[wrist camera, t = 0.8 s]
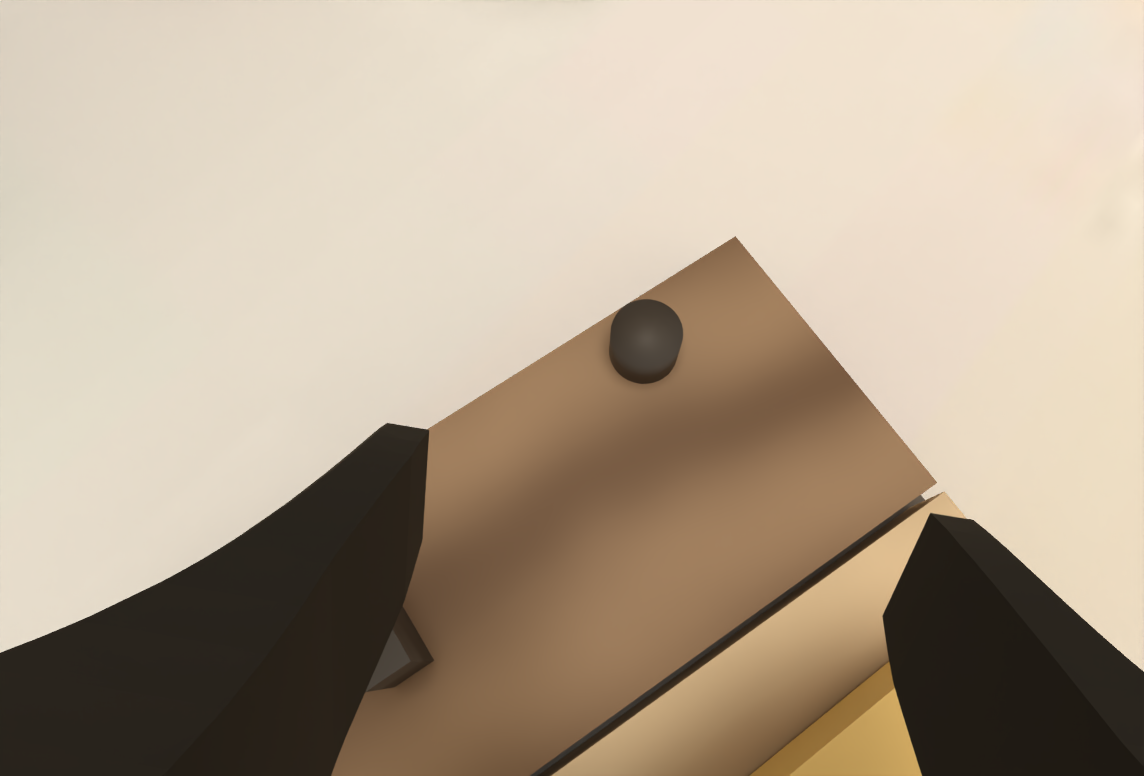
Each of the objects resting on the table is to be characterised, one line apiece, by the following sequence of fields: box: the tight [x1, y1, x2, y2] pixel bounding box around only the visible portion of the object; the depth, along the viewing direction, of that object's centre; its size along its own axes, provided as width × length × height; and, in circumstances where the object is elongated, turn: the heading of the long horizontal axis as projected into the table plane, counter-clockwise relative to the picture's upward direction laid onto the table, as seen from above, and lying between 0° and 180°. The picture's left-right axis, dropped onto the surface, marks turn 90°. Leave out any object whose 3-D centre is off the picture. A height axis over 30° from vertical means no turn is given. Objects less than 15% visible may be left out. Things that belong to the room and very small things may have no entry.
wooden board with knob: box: [331, 236, 966, 776], centre depth 22 cm, size 17×22×6 cm
